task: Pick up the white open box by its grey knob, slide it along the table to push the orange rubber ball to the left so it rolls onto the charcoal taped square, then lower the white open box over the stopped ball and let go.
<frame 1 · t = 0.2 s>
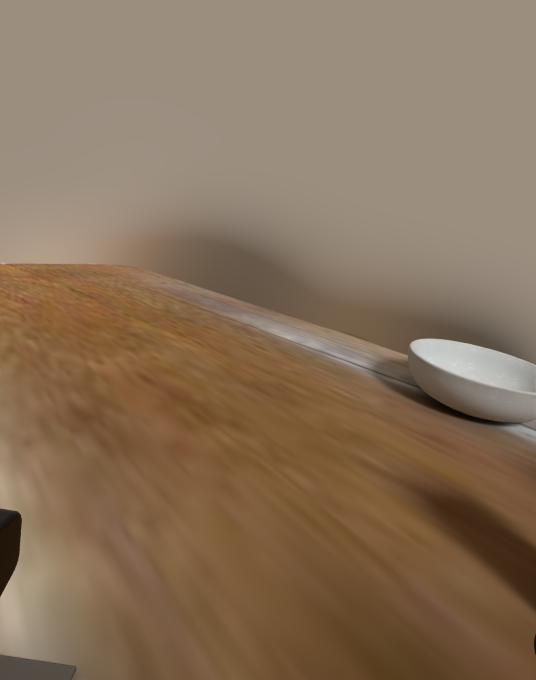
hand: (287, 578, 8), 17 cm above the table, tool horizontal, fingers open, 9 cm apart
serving bowl: (469, 407, 69), on the table
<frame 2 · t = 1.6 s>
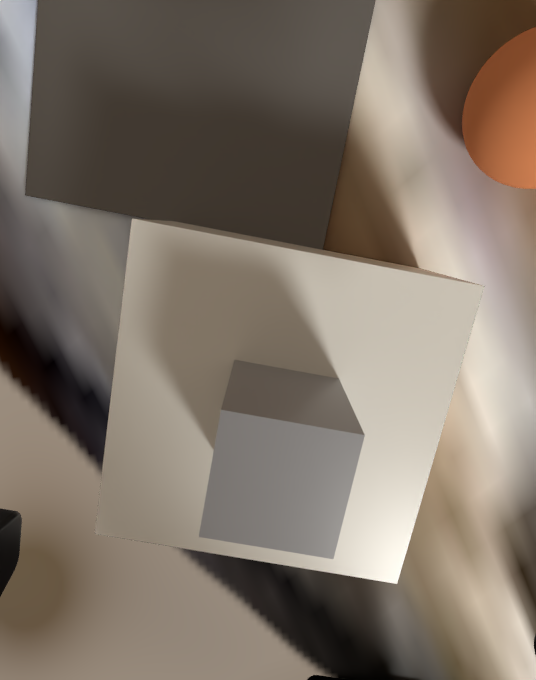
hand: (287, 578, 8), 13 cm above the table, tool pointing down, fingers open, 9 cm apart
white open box: (274, 363, 21), on the table
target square: (199, 62, 18), on the table
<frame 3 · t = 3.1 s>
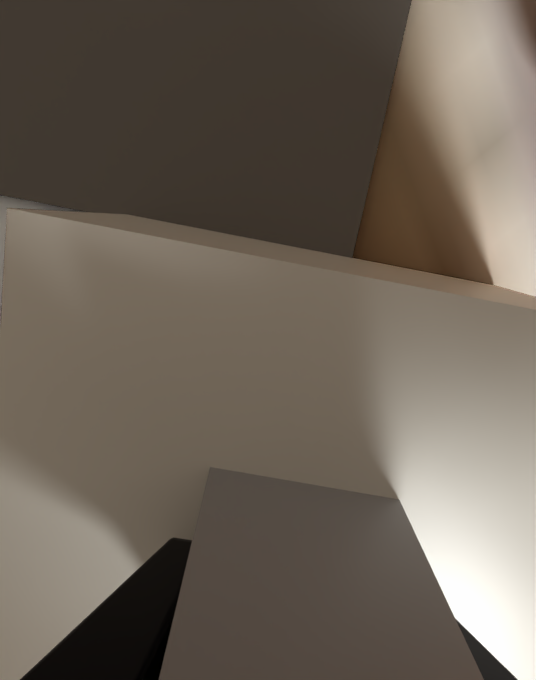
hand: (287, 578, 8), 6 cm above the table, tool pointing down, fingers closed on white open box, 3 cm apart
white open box: (279, 421, 14), on the table, touching gripper
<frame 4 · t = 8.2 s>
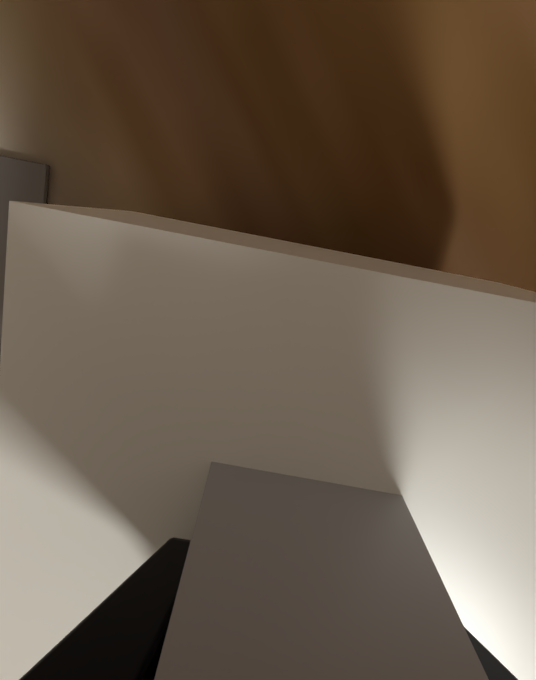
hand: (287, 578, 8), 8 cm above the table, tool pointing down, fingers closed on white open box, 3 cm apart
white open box: (282, 418, 14), point 2 cm above the table, touching gripper
when the fingers open (7 cm above the table, at t = 12.6 s): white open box stays where it is, on the table.
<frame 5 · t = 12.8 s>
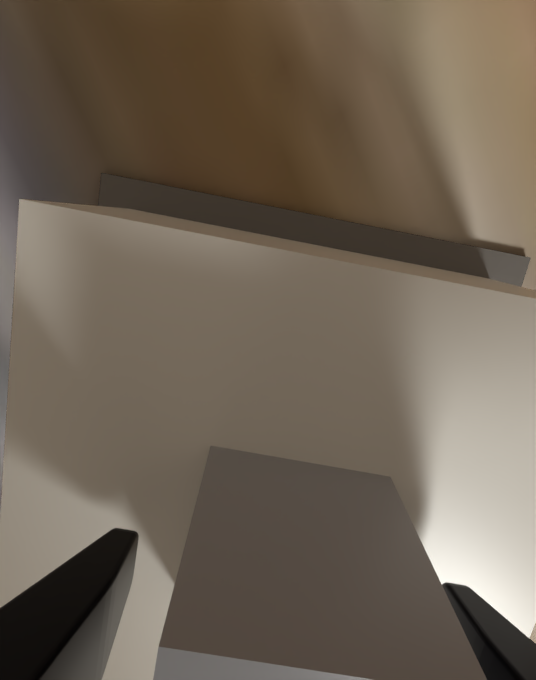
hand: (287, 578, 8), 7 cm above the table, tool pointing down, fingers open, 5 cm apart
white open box: (277, 410, 15), on the table
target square: (278, 414, 15), on the table
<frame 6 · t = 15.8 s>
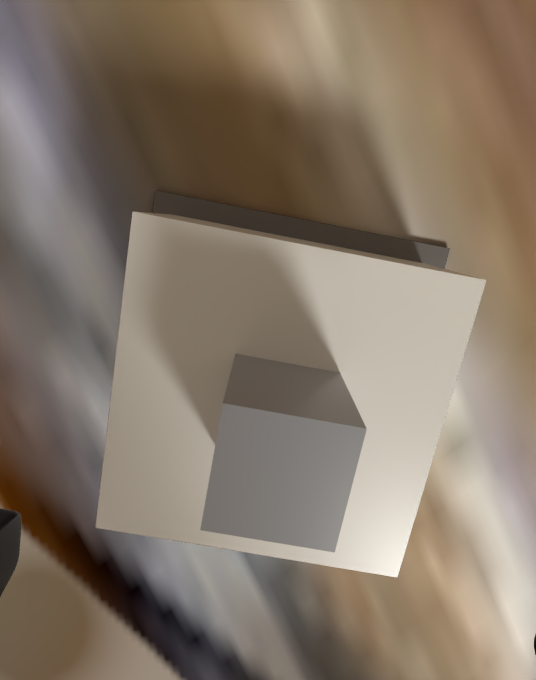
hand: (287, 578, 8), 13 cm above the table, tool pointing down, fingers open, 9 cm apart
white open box: (275, 357, 21), on the table
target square: (275, 360, 21), on the table
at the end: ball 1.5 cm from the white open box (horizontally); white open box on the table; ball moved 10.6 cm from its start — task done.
